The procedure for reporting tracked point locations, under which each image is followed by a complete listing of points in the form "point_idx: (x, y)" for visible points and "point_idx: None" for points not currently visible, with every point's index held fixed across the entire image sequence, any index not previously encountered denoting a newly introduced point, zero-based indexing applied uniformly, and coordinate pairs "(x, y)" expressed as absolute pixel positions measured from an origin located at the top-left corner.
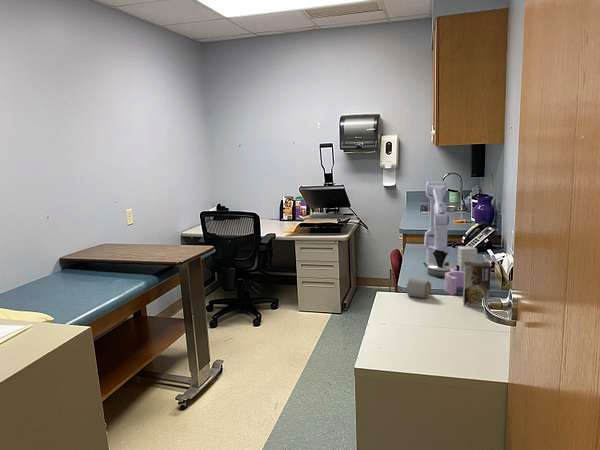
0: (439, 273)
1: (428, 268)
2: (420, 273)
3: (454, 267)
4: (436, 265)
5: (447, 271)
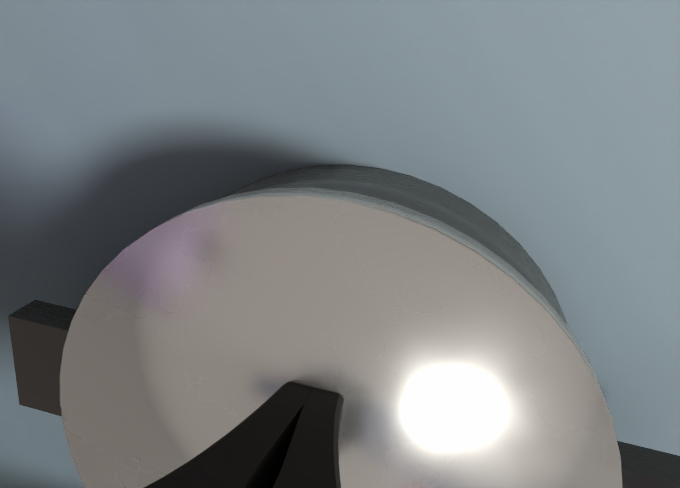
0: None
1: None
2: (664, 200)
3: (96, 474)
4: (392, 434)
5: None
